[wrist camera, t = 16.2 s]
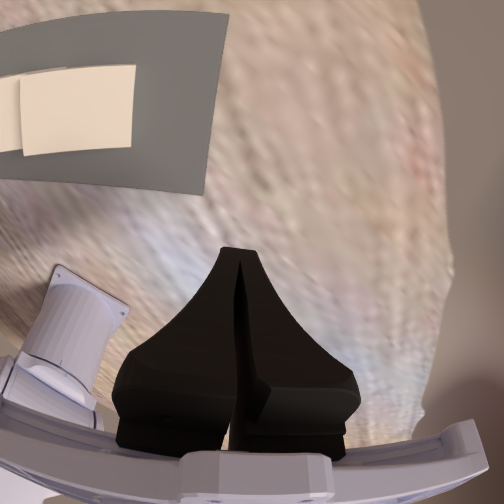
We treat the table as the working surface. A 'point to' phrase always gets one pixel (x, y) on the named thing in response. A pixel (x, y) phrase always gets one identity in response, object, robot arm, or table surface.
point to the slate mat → (144, 99)
